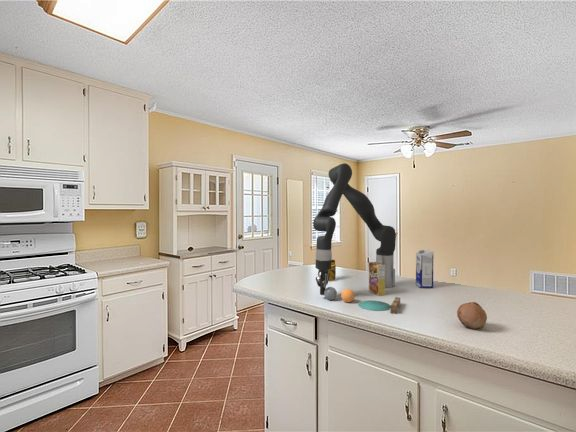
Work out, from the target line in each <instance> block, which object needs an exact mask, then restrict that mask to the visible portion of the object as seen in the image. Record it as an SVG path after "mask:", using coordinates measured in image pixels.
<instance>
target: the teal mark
mask: <svg viewBox="0 0 576 432" xmlns="http://www.w3.org/2000/svg"><path fill="white" fill-rule="evenodd" d="M357 305H358V307H360V308H361V309H365V310H368V311H373V312H375V311H376V312H379V311H380V312H382V311H383V312H384V311H388V310H391V304H389V303H388V302H385V301H381V300H362V301H359V302H358V303H357Z"/></svg>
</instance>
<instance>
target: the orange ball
mask: <svg viewBox="0 0 576 432" xmlns="http://www.w3.org/2000/svg"><path fill="white" fill-rule="evenodd" d="M340 296H341V300H343V301H344V302H346V303H351V302H353V301H354V300H355V292H354V290H352V289H350V288H344V289H343V290H342V291H341V294H340Z"/></svg>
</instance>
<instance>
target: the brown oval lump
mask: <svg viewBox="0 0 576 432" xmlns="http://www.w3.org/2000/svg"><path fill="white" fill-rule="evenodd" d="M456 317H457V319H458V320H459V322H460V323H461V324H462V326H464V327H465V328H467V329H472V330H477V329H479V330H480V329H481V328H483V327H484V326H485V325H486V323H487V320H488V316H487V313H486V311H485V309H483V306H481V305H480V304H479V303H478V302H476V301H470V302H466V303H463V304H460V305H459V306H458V308H457V311H456Z"/></svg>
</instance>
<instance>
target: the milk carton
mask: <svg viewBox="0 0 576 432" xmlns="http://www.w3.org/2000/svg"><path fill="white" fill-rule="evenodd" d="M434 253H435V252H434V251H433V250H431V249H426V250H425V249H423V250H419V251H418V252H416V253H415V286H417V287H418V288H419V289H434V260H435V259H434Z"/></svg>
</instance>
